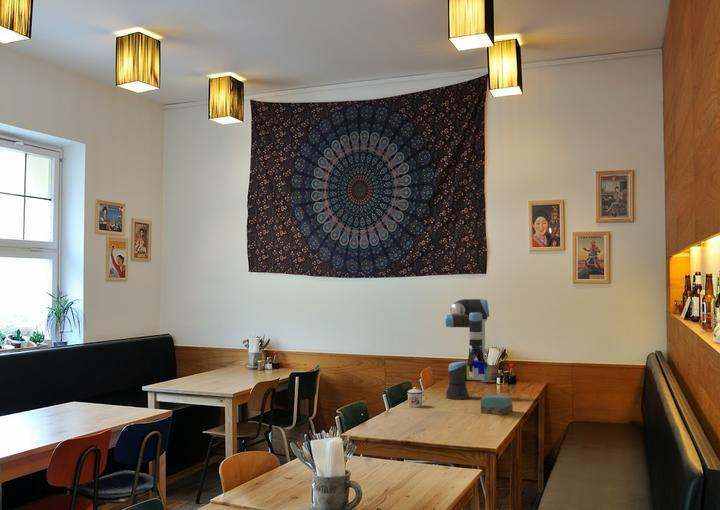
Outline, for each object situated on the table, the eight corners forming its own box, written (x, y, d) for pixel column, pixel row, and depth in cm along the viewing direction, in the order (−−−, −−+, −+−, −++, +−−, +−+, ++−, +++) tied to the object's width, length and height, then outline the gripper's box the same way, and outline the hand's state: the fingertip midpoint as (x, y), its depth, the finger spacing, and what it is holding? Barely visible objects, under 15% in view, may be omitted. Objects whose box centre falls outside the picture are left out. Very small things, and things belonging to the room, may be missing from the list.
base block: (481, 413, 386) (480, 406, 386) (490, 409, 398) (490, 402, 398) (504, 416, 378) (503, 408, 379) (512, 412, 390) (512, 404, 390)
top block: (480, 406, 387) (480, 398, 387) (489, 402, 398) (489, 394, 399) (503, 408, 379) (503, 400, 379) (512, 404, 391) (512, 396, 391)
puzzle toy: (484, 380, 383) (484, 362, 383) (466, 379, 385) (466, 362, 385) (485, 377, 392) (485, 360, 393) (468, 376, 395) (468, 360, 395)
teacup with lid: (406, 407, 404) (405, 387, 405) (409, 404, 413) (409, 385, 413) (425, 408, 401) (425, 388, 401) (428, 405, 409) (428, 386, 410)
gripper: (473, 340, 377) (473, 379, 377) (489, 337, 397) (490, 374, 397) (461, 340, 382) (461, 378, 381) (478, 337, 401) (478, 373, 401)
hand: (476, 376), depth 389 cm, fingers closed on puzzle toy, 12 cm apart
